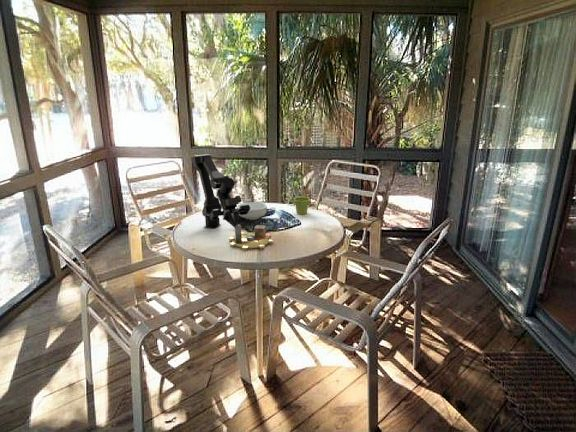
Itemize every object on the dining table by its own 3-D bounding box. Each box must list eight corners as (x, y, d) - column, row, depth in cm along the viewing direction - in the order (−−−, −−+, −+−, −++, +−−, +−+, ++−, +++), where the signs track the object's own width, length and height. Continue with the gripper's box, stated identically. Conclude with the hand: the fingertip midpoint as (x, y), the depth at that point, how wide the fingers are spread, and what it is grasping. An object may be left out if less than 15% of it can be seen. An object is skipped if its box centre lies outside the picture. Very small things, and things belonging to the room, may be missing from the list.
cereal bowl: (265, 212, 230) (265, 201, 228) (268, 221, 214) (268, 209, 212) (236, 214, 228) (236, 202, 226) (237, 223, 212) (236, 210, 210)
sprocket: (222, 248, 178) (221, 228, 175) (236, 232, 197) (235, 214, 194) (267, 251, 174) (266, 231, 171) (277, 235, 194) (277, 216, 191)
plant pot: (310, 215, 224) (310, 201, 222) (293, 215, 224) (293, 201, 222) (309, 210, 233) (309, 196, 230) (293, 210, 233) (293, 196, 231)
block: (254, 237, 187) (254, 228, 186) (257, 233, 191) (256, 225, 190) (263, 237, 186) (263, 228, 185) (266, 234, 191) (265, 225, 189)
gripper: (210, 192, 175) (221, 223, 169) (248, 187, 184) (259, 216, 178) (205, 205, 183) (215, 234, 178) (241, 199, 193) (252, 227, 187)
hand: (236, 227), depth 180 cm, fingers closed, pressing on sprocket
